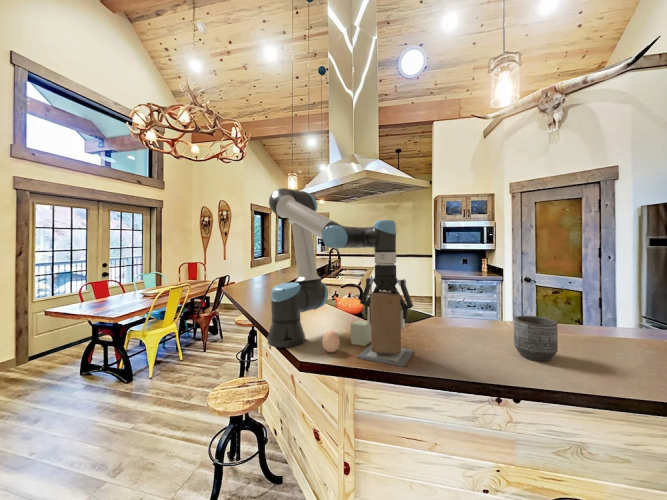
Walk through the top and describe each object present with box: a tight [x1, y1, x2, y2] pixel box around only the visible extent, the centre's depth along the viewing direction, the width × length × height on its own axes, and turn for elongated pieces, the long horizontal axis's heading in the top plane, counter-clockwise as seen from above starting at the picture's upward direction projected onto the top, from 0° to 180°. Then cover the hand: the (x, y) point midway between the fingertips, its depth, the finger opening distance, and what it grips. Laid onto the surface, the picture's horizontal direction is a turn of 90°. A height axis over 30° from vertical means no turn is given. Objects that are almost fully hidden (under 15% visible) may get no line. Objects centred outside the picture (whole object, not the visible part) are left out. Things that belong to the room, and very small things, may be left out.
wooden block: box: [370, 290, 402, 354], centre depth 99 cm, size 10×10×20 cm
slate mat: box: [357, 343, 414, 368], centre depth 100 cm, size 16×14×1 cm
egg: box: [321, 329, 341, 353], centre depth 103 cm, size 7×7×8 cm
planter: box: [513, 315, 559, 363], centre depth 96 cm, size 12×12×13 cm
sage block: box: [350, 319, 371, 347], centre depth 113 cm, size 6×6×8 cm
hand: (385, 325), depth 99 cm, fingers closed on wooden block, 11 cm apart
